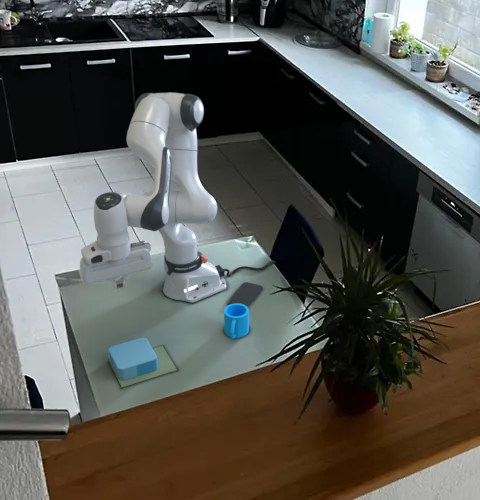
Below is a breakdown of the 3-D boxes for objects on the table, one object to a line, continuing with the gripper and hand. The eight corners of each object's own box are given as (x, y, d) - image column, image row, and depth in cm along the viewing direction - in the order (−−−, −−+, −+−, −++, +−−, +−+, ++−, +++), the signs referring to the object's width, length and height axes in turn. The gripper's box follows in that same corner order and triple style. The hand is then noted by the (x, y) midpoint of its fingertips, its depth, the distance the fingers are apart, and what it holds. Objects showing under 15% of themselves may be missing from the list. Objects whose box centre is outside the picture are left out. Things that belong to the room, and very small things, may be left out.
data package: (108, 358, 216) (120, 381, 208) (106, 347, 214) (118, 370, 206) (146, 347, 222) (159, 369, 214) (145, 336, 220) (158, 358, 212)
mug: (227, 321, 237) (226, 302, 233) (250, 323, 237) (250, 304, 233) (219, 343, 227) (219, 323, 223) (244, 346, 227) (244, 326, 223)
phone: (263, 285, 256) (246, 307, 243) (263, 287, 256) (246, 309, 244) (244, 281, 257) (227, 303, 245) (244, 283, 258) (227, 305, 245)
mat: (162, 346, 224) (162, 345, 224) (176, 370, 215) (176, 369, 215) (109, 362, 215) (109, 361, 215) (121, 387, 206) (121, 387, 206)
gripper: (146, 234, 206) (149, 272, 213) (75, 250, 196) (81, 290, 203) (153, 244, 202) (157, 283, 209) (81, 261, 192) (87, 301, 199)
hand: (119, 287), depth 206 cm, fingers closed
